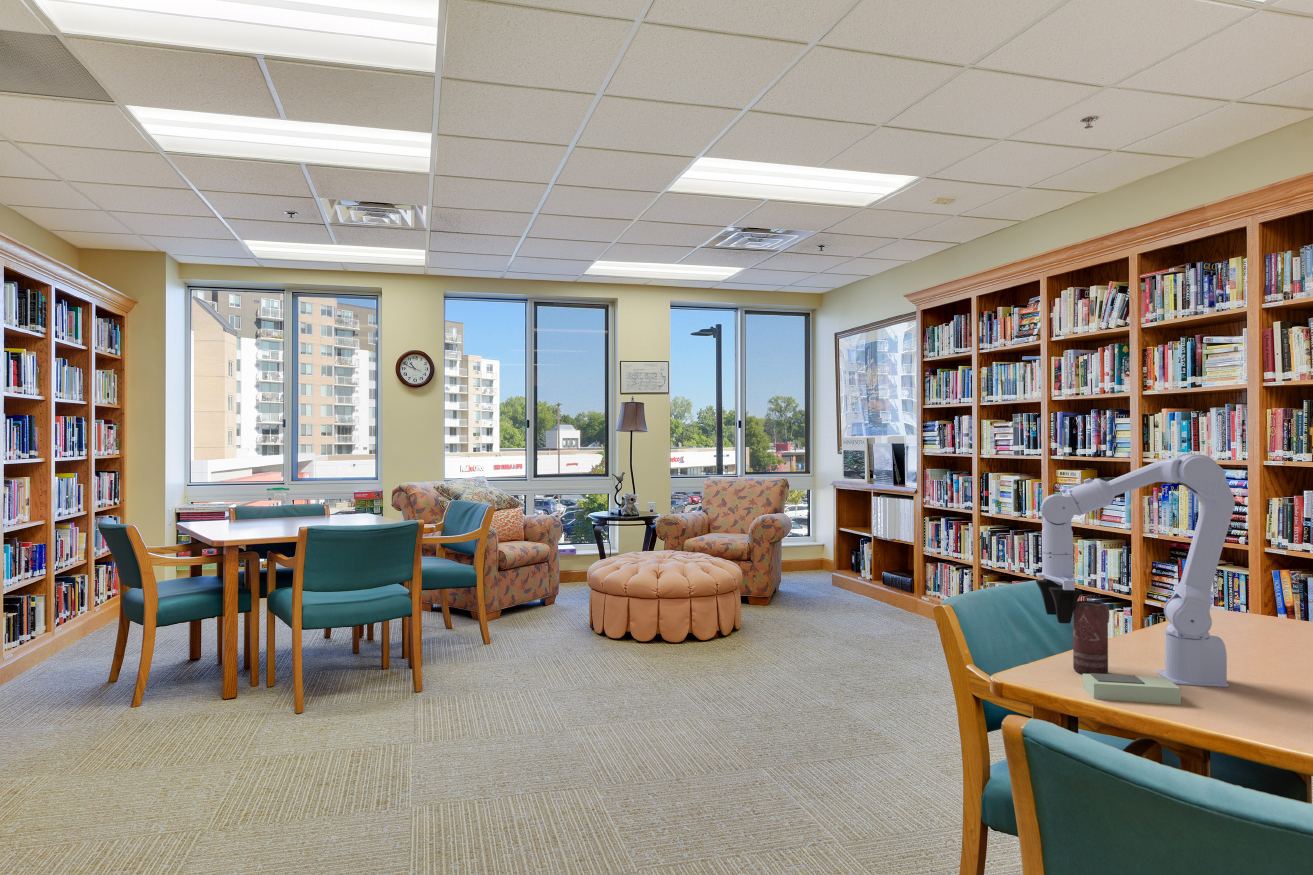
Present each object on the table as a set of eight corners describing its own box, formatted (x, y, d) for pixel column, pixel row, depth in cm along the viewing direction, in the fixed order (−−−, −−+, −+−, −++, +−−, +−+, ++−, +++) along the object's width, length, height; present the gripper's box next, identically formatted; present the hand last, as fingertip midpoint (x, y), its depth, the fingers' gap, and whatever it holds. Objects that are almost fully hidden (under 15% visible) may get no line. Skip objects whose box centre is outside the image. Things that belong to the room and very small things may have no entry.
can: (1114, 678, 153) (1114, 606, 152) (1079, 676, 154) (1078, 605, 154) (1103, 668, 158) (1102, 600, 158) (1069, 667, 160) (1069, 599, 160)
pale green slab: (1165, 693, 143) (1164, 676, 143) (1180, 705, 137) (1180, 686, 137) (1082, 688, 146) (1082, 671, 146) (1093, 700, 140) (1093, 682, 140)
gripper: (1026, 547, 169) (1027, 610, 169) (1047, 557, 155) (1048, 626, 155) (1062, 548, 167) (1062, 611, 167) (1085, 558, 153) (1086, 627, 153)
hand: (1058, 618), depth 161 cm, fingers open, 7 cm apart
